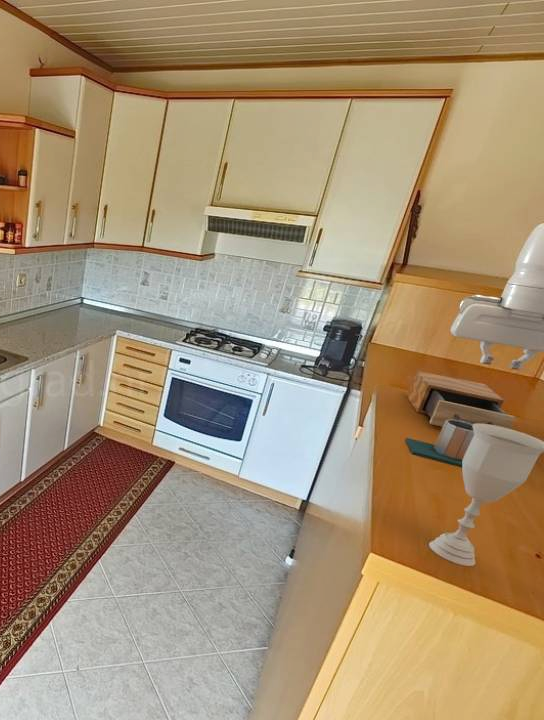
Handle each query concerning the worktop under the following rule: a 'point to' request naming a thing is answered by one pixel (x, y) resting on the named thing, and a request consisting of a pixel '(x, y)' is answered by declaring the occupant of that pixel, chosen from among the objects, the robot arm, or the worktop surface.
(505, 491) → the chalice
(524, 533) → the worktop surface
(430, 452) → the mat
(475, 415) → the wooden drawer box
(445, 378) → the wooden drawer cabinet
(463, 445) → the gray faceted container
